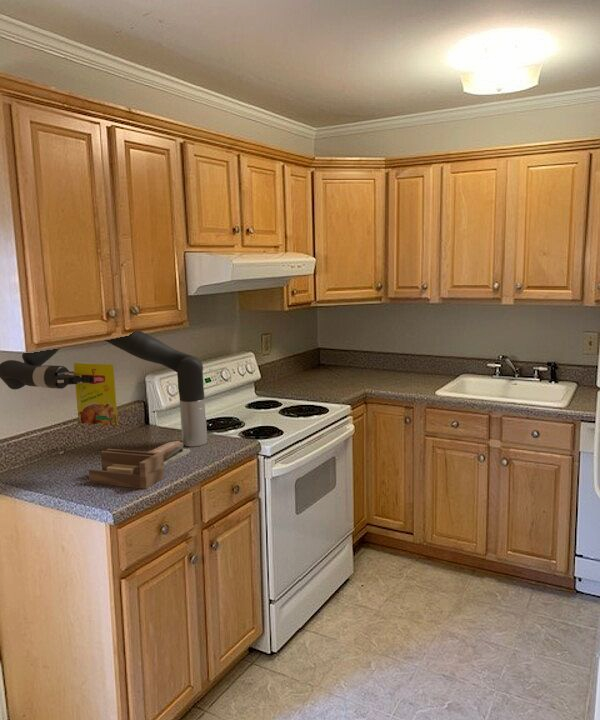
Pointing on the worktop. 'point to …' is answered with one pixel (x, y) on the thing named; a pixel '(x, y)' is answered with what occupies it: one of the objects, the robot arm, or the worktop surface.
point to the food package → (96, 395)
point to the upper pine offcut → (123, 468)
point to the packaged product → (171, 451)
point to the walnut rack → (146, 461)
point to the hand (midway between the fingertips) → (94, 378)
